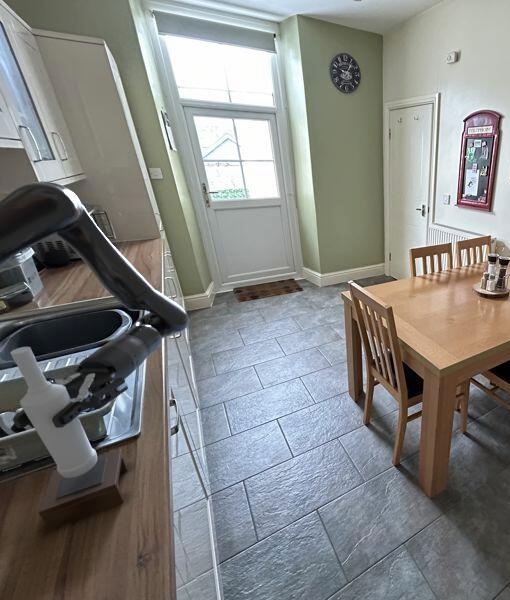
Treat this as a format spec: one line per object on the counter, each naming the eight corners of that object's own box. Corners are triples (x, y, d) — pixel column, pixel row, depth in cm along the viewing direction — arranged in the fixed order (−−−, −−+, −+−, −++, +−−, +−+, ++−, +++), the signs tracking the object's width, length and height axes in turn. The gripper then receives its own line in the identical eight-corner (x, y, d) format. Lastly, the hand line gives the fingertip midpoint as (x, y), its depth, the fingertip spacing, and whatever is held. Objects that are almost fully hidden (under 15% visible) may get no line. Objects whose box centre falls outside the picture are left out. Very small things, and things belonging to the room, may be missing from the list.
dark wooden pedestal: (49, 531, 56) (37, 511, 54) (62, 489, 63) (52, 470, 61) (123, 502, 61) (115, 483, 59) (127, 466, 68) (120, 448, 66)
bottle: (95, 471, 59) (38, 354, 48) (56, 484, 56) (-13, 364, 46) (101, 450, 63) (49, 338, 52) (64, 461, 60) (2, 346, 50)
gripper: (72, 344, 65) (-25, 405, 50) (147, 345, 66) (76, 405, 51) (85, 375, 68) (-2, 441, 53) (157, 376, 69) (93, 441, 54)
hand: (37, 423), depth 52 cm, fingers closed on bottle, 5 cm apart
